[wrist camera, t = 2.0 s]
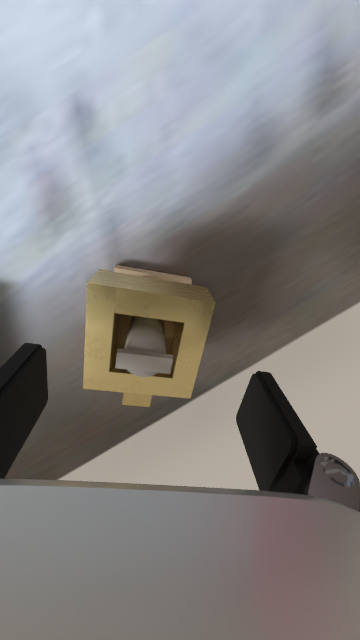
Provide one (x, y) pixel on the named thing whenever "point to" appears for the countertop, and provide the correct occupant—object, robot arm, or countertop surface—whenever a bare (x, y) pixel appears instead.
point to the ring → (152, 302)
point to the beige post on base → (146, 334)
